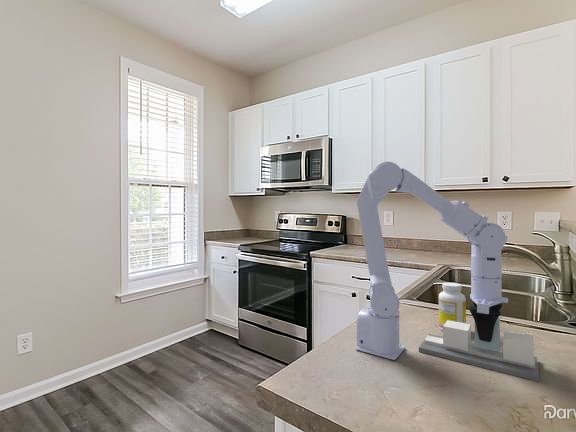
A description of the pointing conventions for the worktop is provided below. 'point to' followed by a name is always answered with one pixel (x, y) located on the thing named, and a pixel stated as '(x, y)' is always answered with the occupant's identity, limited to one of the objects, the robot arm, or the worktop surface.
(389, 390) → the worktop surface
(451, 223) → the robot arm
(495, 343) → the block
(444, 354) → the board
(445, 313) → the supplement bottle
